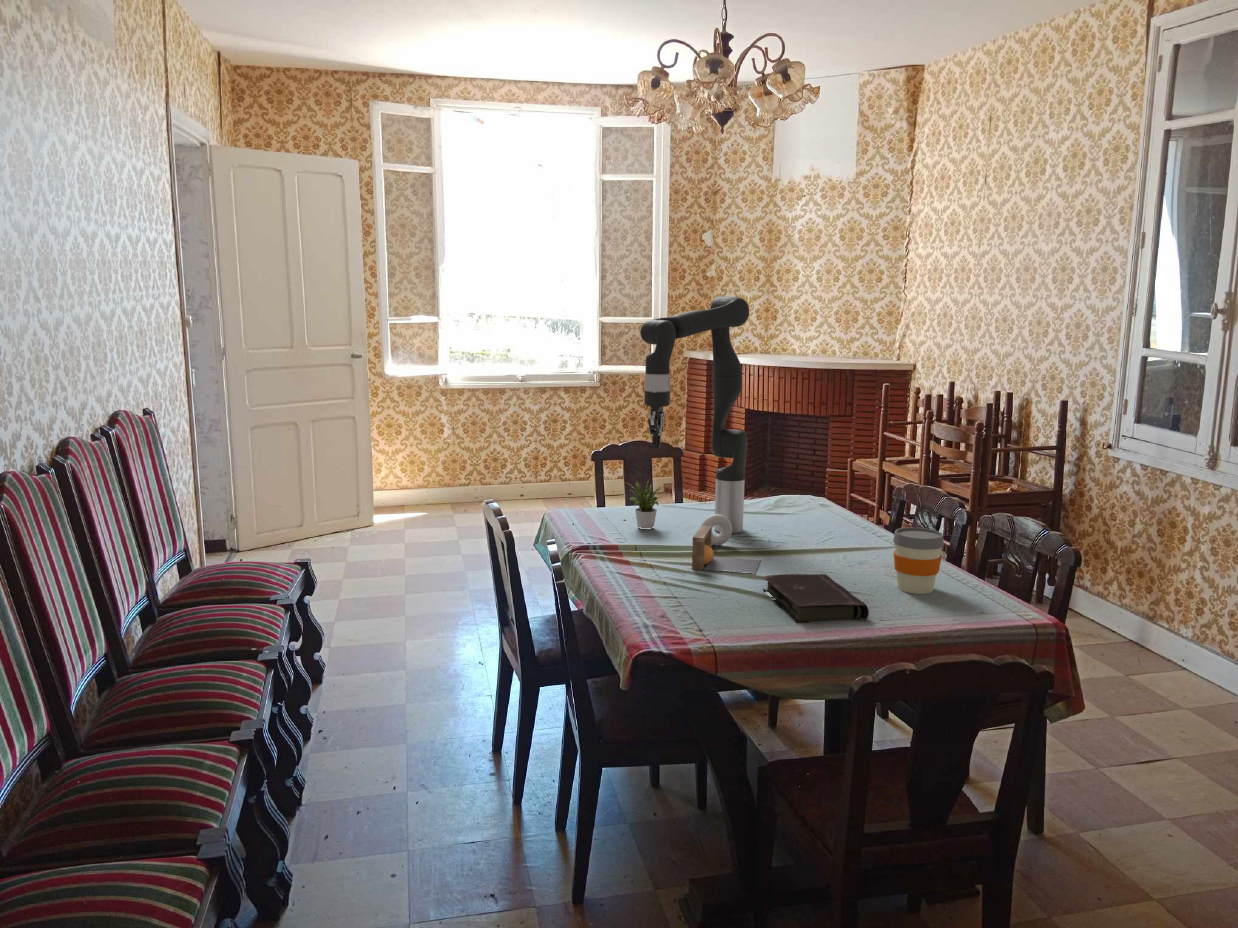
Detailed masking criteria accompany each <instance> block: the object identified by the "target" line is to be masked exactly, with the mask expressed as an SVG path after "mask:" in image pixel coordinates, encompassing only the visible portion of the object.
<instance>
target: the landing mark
mask: <svg viewBox="0 0 1238 928" xmlns="http://www.w3.org/2000/svg"><path fill="white" fill-rule="evenodd" d="M761 561H762V560H761V559H751V558H737V557H725V556H724V557H723V556H715V555H714V556H713V559H712V561H711V562H709V563H707V564H706V567H704V571H708V570H714V571H713V572H721V571H723V570H734V571H735V572H750V573H755V574H756V573H757V571H758V569H759V565H760V563H761ZM738 570H739V571H738ZM740 570H741V571H740ZM734 571H729V572H727V571H726V572H725V573H733V572H734Z"/></svg>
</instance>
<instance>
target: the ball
mask: <svg viewBox="0 0 1238 928" xmlns="http://www.w3.org/2000/svg"><path fill="white" fill-rule="evenodd" d="M713 556H714V557H715V555H714V550H713V549H712V546H711V547H709V546H708V545H704V565H708V563H709V562H711V561H712V559H713Z"/></svg>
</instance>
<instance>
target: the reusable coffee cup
mask: <svg viewBox="0 0 1238 928" xmlns="http://www.w3.org/2000/svg"><path fill="white" fill-rule="evenodd" d="M892 542H893V544H894V551H893V563H894V570H895V572H896V583H897V584H896V585H897V589H898V590H900V591H902V592H905V593H910V594H917V595H923V594H924V595H926V593H927V594H930V593H932V592H934V588H935V584H936V577H937V575H938V574H939V571H940V567H941V563H942V558H943V557H942V554H941V553H942V549H943V547H944V545H945V543H944V534H943V533H942V532H941V531H938V530H934V529H930V528H924V527H900V528H897V529H895V530H894V533H893V539H892Z"/></svg>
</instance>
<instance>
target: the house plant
mask: <svg viewBox="0 0 1238 928" xmlns="http://www.w3.org/2000/svg"><path fill="white" fill-rule="evenodd" d="M650 480H651V479H648V481H647V482H646V486H645V490H642V484H641V483H639V482H638V481H636V484H635V486H636V487H637V488H636V487H634V486H633V485H632V484H630V486H631V488H632V489H633V490H632V489H630V491H631V492H632V493H633V494H634V495H635V496H633V497H630V498H629V499H630V500H632V502H634V506H636V505H637V506H638V507H637V508H635V510H634V511H635V518H636V525H637V528H638V527H641V528H652V527H654V528H655V522H656V518H657V512H658V511H657V508H654V505H655V504H656V505H657V506H659V502H660V501H661V499H663V498H664V497H661V496H660V497H657V496H656V494H657V493H658V492H659V490H660V489H662V487H663V486H665V485H666V484H662V485H660V486H659V487H657V488H656V490H654V491H653V492H652V490H653V489H652V487H653V485H652V484H650V485H649V486H648V483H649V481H650ZM626 484H628V485H629V483H628V482H626Z"/></svg>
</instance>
